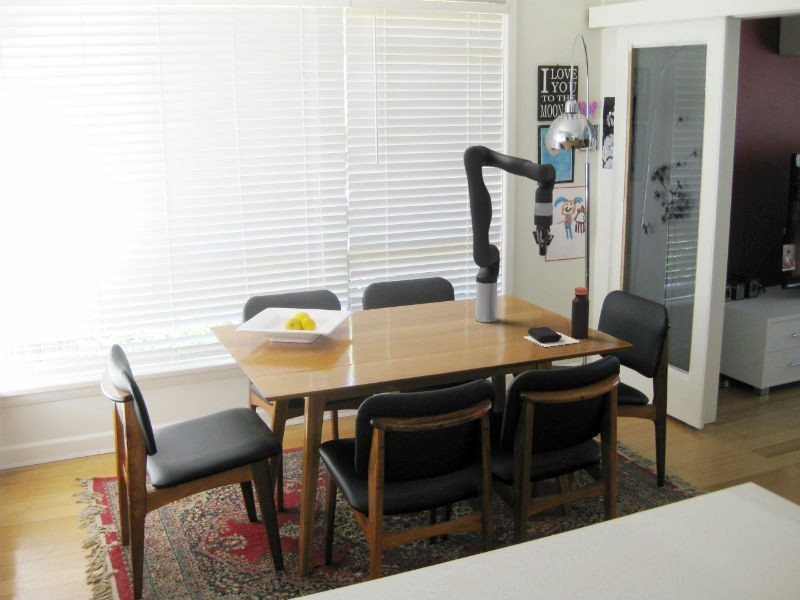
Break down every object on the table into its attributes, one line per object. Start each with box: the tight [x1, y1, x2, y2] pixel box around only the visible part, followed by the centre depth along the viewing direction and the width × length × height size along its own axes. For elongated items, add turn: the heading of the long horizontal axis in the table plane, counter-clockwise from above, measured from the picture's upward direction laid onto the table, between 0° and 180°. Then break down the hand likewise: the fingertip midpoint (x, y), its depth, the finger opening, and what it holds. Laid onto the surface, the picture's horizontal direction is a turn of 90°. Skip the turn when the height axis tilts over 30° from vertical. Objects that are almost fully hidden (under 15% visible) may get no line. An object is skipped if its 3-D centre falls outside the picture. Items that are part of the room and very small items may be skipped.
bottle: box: [570, 286, 590, 340], centre depth 338 cm, size 7×7×20 cm
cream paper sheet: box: [523, 331, 581, 348], centre depth 336 cm, size 16×16×1 cm
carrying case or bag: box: [527, 326, 562, 343], centre depth 337 cm, size 11×3×15 cm
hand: (542, 255), depth 347 cm, fingers closed
